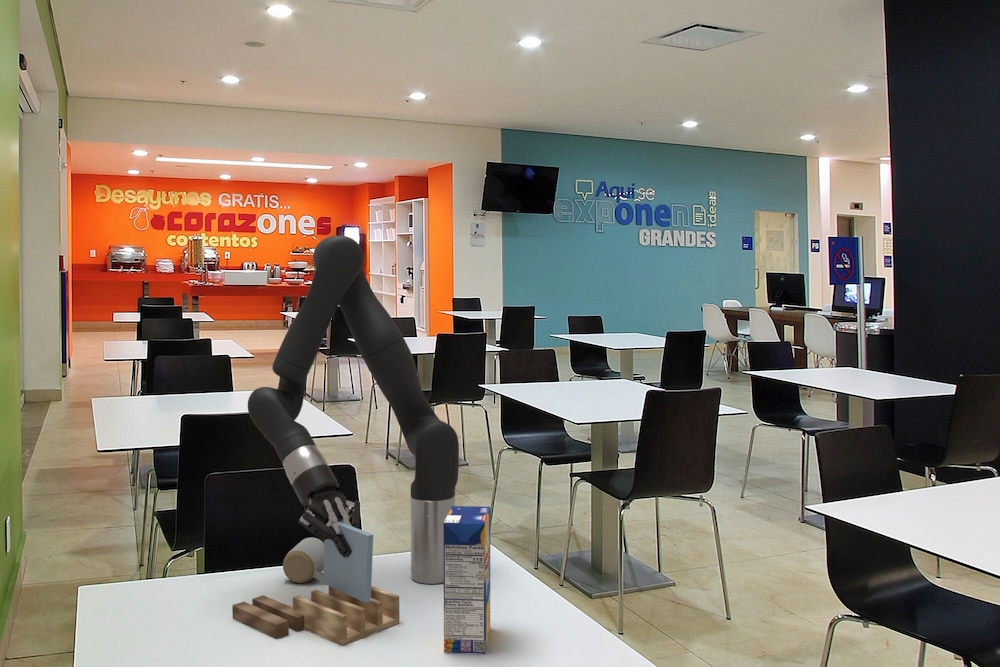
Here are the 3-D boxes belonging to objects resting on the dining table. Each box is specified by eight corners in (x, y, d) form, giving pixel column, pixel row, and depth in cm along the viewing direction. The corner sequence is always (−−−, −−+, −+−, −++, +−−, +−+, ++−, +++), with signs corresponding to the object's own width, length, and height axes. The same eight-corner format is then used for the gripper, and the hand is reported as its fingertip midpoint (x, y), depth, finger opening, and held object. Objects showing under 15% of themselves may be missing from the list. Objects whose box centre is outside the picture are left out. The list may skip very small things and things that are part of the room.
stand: (232, 618, 159) (232, 605, 158) (263, 608, 163) (263, 595, 163) (277, 639, 149) (276, 624, 149) (308, 627, 154) (308, 613, 154)
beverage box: (443, 653, 144) (443, 522, 142) (452, 626, 155) (451, 505, 153) (484, 654, 143) (484, 523, 142) (490, 628, 154) (490, 506, 153)
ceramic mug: (280, 583, 177) (280, 546, 176) (297, 570, 185) (297, 535, 184) (329, 588, 175) (329, 551, 174) (344, 574, 183) (344, 539, 182)
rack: (293, 624, 156) (292, 597, 155) (350, 604, 166) (349, 578, 165) (342, 645, 147) (342, 616, 146) (399, 623, 156) (399, 595, 156)
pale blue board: (322, 583, 159) (325, 519, 158) (328, 581, 160) (330, 518, 159) (365, 602, 151) (368, 535, 150) (370, 600, 152) (373, 534, 151)
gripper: (288, 468, 154) (331, 551, 147) (348, 458, 164) (390, 534, 157) (271, 493, 158) (312, 574, 151) (330, 481, 168) (371, 556, 161)
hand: (352, 553), depth 154 cm, fingers closed on pale blue board, 1 cm apart
